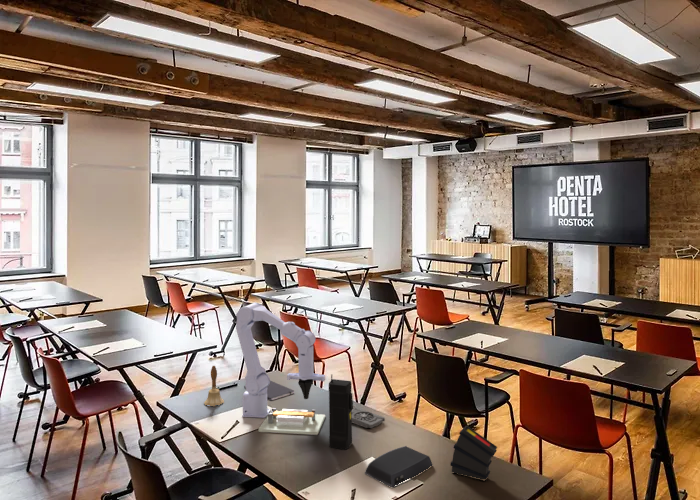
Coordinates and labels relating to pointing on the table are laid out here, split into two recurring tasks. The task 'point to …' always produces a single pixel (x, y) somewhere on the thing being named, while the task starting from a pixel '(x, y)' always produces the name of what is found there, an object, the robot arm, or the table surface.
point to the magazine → (472, 454)
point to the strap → (292, 413)
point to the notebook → (277, 391)
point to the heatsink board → (305, 430)
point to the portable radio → (340, 414)
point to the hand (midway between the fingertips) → (306, 398)
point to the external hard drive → (398, 466)
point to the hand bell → (214, 391)
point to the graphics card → (365, 418)
